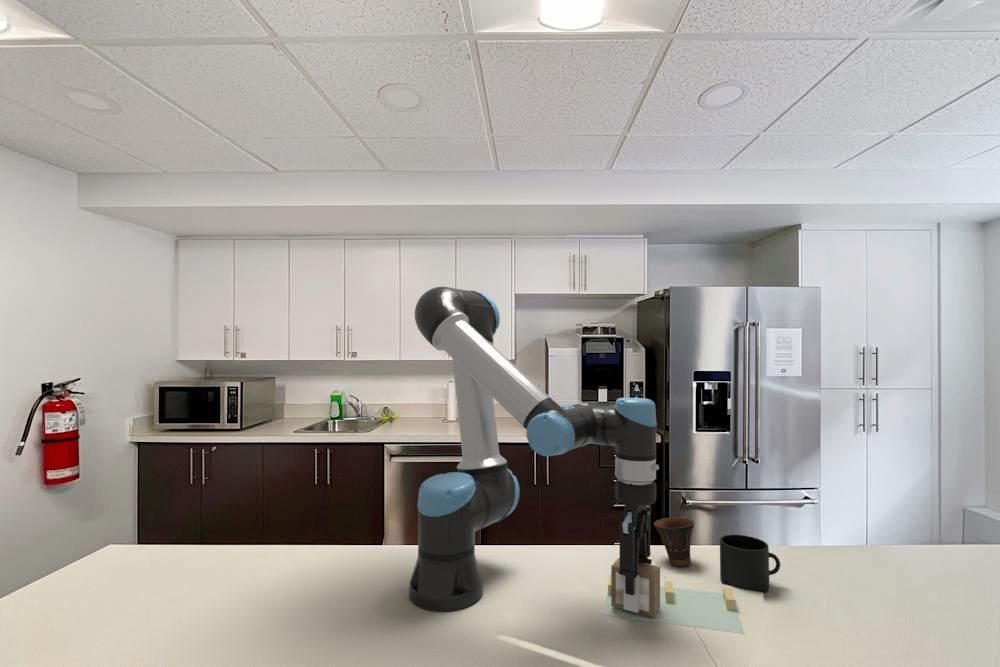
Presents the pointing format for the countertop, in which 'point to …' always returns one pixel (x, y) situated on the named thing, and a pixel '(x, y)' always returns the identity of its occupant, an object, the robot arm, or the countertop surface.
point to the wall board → (688, 609)
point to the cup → (676, 538)
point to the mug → (746, 563)
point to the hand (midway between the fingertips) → (635, 603)
